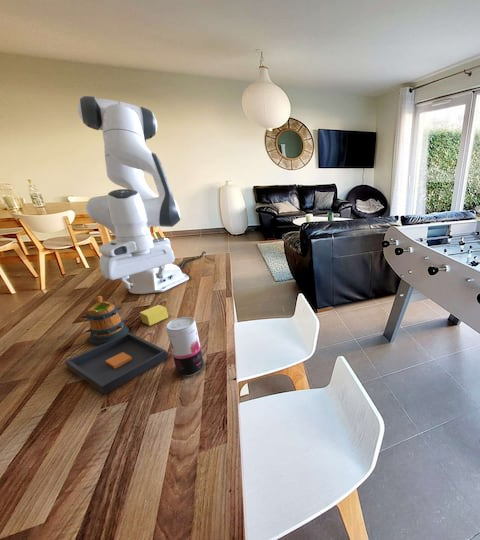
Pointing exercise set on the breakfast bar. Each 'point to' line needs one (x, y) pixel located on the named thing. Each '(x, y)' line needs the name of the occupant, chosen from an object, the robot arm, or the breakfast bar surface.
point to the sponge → (154, 315)
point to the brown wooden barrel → (105, 322)
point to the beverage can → (185, 346)
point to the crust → (118, 360)
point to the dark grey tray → (109, 378)
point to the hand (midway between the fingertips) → (145, 282)
